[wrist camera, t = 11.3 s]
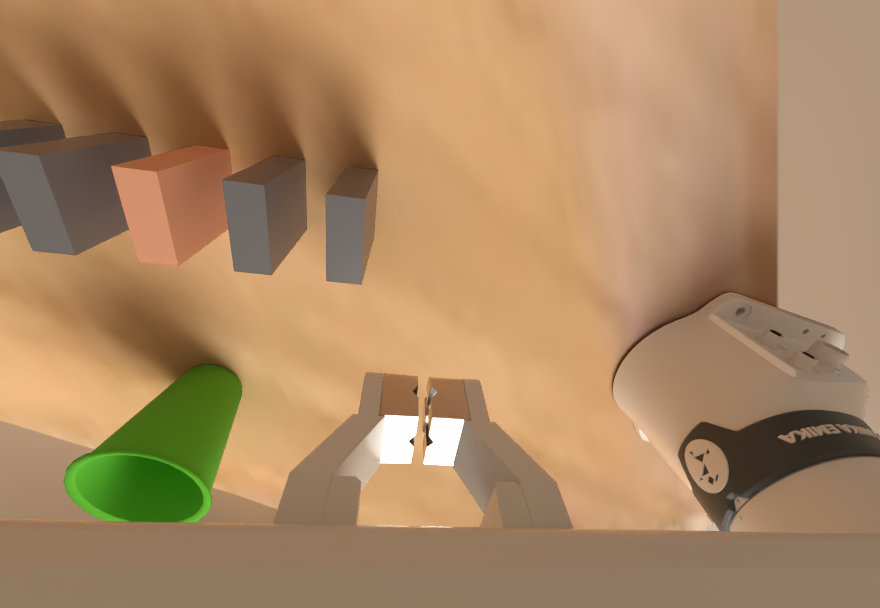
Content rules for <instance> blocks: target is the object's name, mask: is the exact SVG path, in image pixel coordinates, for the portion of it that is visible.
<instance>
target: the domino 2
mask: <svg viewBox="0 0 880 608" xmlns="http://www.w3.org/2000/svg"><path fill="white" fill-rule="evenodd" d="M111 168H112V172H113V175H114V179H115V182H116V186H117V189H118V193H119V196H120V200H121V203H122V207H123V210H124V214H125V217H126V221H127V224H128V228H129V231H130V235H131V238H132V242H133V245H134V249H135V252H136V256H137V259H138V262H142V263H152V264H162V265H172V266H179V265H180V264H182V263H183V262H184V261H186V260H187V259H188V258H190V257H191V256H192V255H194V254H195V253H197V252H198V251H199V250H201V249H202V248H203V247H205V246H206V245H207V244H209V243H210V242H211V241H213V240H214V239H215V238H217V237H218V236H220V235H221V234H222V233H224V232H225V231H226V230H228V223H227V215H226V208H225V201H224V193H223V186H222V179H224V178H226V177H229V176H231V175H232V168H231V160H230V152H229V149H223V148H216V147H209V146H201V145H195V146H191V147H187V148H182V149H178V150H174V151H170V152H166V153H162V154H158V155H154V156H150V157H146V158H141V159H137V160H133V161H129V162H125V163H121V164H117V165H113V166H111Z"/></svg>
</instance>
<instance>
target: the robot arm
mask: <svg viewBox="0 0 880 608" xmlns="http://www.w3.org/2000/svg"><path fill="white" fill-rule="evenodd" d="M844 343H845V335H844V334H843V333H841V332H840V331H838V330H837V329H835V328H833V327H830V326H828V325H825V324H822V323H819V322H816V321H814V320H811V319H808V318H805V317H802V316H799V315H797V314H793V313H791V312H788V311H785V310H782V309H780V308H777V307H774V306H771V305H768V304H765V303H762V302H760V301H757V300H754V299H751V298H748V297H745V296H743V295H740V294H737V293H733V292H729V293H725V294H722V295H720V296H718V297H717V298H715V299H714V300H712V301H711V302H709V303H708V304H707V305H705V306H704V307H703V308H701V309H700V310H699V311H697V312H695V313H693V314H691V315H689V316H687V317H684V318H682V319H679V320H676V321H674V322H672V323H669V324H667V325H665V326H663V327H661V328H660V329H658V330H656V331H655V332H653V333H651V334H650V335H649V336H647V337H646V338H645V339H643V340H642V341H641V342H640V343H639V344H637V345H636V346H635V347H634V348H633V349H632V350H631V351H630V353H629V354H628V355H627V356H626V358H625V359H624V360H623V362H622V363H621V365H620V367H619V369H618V371H617V373H616V376H615V379H614V384H613V395H614V399H615V402H616V404H617V405H618V407H619V408H620V409H621V410H622V411H623V412H624V413H625V414H626V415H627V416H628V417H629V418H630V419H631V420H632V421H633V423H634V427H635V430H636V432H637V433H638V434H639V436H640V437H641V438H642V439H643V440H645V441H650V442H651V443H652V445H653V446H654V447H655V448H656V449H657V451H658V452H659V453H660V454H661V455H662V457H663V458H664V459H665V460H666V461H667V463H668V464H669V465H670V466H671V467H672V469H673V470H674V471H675V472H676V473H677V475H678V476H679V477H680V478H681V479H682V480H683V482H684V483H685V484H686V485H687V486H688V487H689V488H690V489H691V490H692V491H693V494H694V495H695V497H696V498H697V500H698V501H699V503H700V504H701V506H702V507H703V508H704V510H705V511H706V513H707V516H708V518H709V519H710V520H711V522H712V523H713V524H714V525H715V526H716V527H717V528H718V529H719V530H720V531H674V530H615V529H573V526H572V523H571V521H570V518H569V515H568V513H567V510H566V507H565V504H564V502H563V499H562V496H561V494H560V491H559V488H558V485H557V483H556V481H555V480H554V479H552V478H551V477H550V476H549V475H548V474H547V473H546V472H545V471H544V470H543V469H542V468H541V467H540V466H539V465H538V464H537V463H536V462H535V461H534V460H533V459H532V458H531V457H530V456H529V455H528V454H527V453H526V452H525V451H524V450H523V449H522V448H521V447H520V446H519V445H518V444H517V443H516V442H515V441H514V440H513V439H512V438H511V437H510V436H509V435H507V434H506V433H505V432H504V431H503V430H502V429H501V428H500V427H499V426H498V425H497V424H496V423H495V422H490V420H489V416H488V412H487V408H486V403H485V399H484V395H483V391H482V387H481V383H480V381H479V380H470V379H462V380H461V379H448V378H433V377H429V379H428V383H427V397H426V398H425V400H424V407H423V419H422V428H423V432H424V433H425V435H424V440H423V458H424V464H434V465H449V466H453V468H454V469H455V471H456V472H457V474H458V475H459V477H460V478H461V480H462V481H463V483H464V484H465V486H466V487H467V489H468V490H469V492H470V493H471V495H472V496H473V498H474V499H475V501H476V502H477V504H478V505H479V507H480V508H481V510H482V511H483V513H484V517H483V520H482V522H481V525H480V527H425V526H368V525H358V520H359V506H360V492H361V491H362V489H363V488H364V486H365V485H366V484H367V482H368V481H369V480H370V478H371V477H372V475H373V474H374V473H375V471H376V470H377V468H378V467H379V466H380V463H411V458H412V453H413V447H414V436H415V435H416V429H417V423H418V397H417V389H418V376H407V375H397V374H386V373H384V378H383V373H372V372H366V374H365V378H364V383H363V389H362V395H361V401H360V407H359V413H358V414H353V415H352V416H350V417H349V418H348V419H347V420H346V421H345V422H344V423H343V424H342V425H341V426H340V427H339V428H337V429H336V430H335V431H334V432H333V433H332V434H331V435H330V436H329V437H328V438H327V439H326V440H324V441H323V442H322V443H321V444H320V445H319V446H318V447H317V448H316V449H315V450H314V451H313V452H311V453H310V454H309V455H308V456H307V457H306V458H305V459H304V460H303V461H302V462H301V463H300V464H298V465H297V466H296V467H295V468H294V469H293V470H292V471H291V472H290V474H289V477H288V480H287V483H286V486H285V489H284V492H283V495H282V498H281V501H280V504H279V507H278V510H277V513H276V516H275V519H274V522H273V524H246V523H186V522H126V521H64V520H63V521H62V520H2V519H0V608H880V436H879V435H878V434H876V433H875V432H874V431H873V430H872V429H871V428H870V427H869V426H868V425H867V424H866V423H865V422H864V416H865V411H866V406H867V401H868V397H869V387H868V385H867V382H866V381H865V380H864V379H863V378H862V377H860V376H859V375H858V374H857V373H855V372H854V371H852V370H851V369H849V368H848V367H846V366H845V365H843V364H844V363H845V362H846V361H847V360H848V359H849V354H848V353H846V352H845V351H843V347H844ZM382 385H383V387H382Z"/></svg>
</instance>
